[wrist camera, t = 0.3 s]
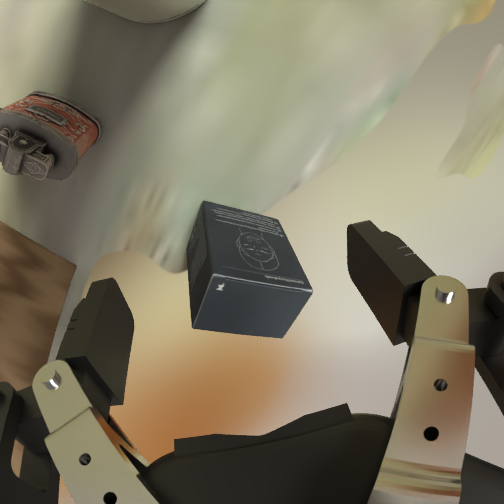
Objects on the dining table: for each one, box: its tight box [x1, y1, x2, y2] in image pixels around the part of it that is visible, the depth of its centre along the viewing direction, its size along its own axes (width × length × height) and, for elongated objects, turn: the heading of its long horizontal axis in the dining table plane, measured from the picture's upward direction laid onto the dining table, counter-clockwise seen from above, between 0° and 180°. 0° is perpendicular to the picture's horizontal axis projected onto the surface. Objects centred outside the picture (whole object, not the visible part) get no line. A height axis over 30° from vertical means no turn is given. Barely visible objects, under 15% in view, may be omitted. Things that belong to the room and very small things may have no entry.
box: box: [187, 201, 313, 338], centre depth 28 cm, size 8×6×11 cm
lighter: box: [0, 91, 103, 181], centre depth 18 cm, size 8×3×10 cm, turn 55°
